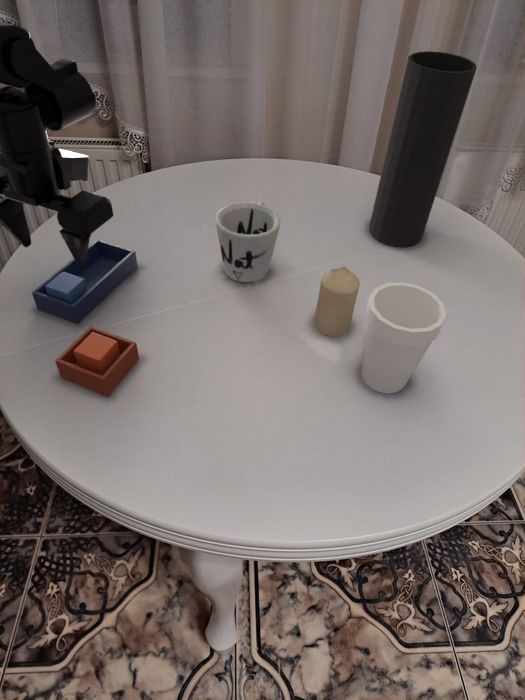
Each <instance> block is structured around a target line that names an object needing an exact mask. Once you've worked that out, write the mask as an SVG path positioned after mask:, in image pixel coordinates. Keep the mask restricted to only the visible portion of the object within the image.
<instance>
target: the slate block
mask: <svg viewBox="0 0 525 700" xmlns="http://www.w3.org/2000/svg"><path fill="white" fill-rule="evenodd" d="M45 287H46V291H47V294H48V296H50V297H53V298H56V299H58V300H61V301H64V302H67V303H70V304H72V305H73V304H74V303H75V302H76V301H77V300H78V299H79V298H81V297H82V296H83V295H84V294H85V293H86V292H87V288H86V284H85V280H84V279H83V278H80V277H77V276H74V275H71V274H68V273H65V272H62V273H60V274H59V275H58V276H57V277H55V278H54V279H53V280H52V281H51V282H49V283H48V284H47V285H46V286H45Z"/></svg>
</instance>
